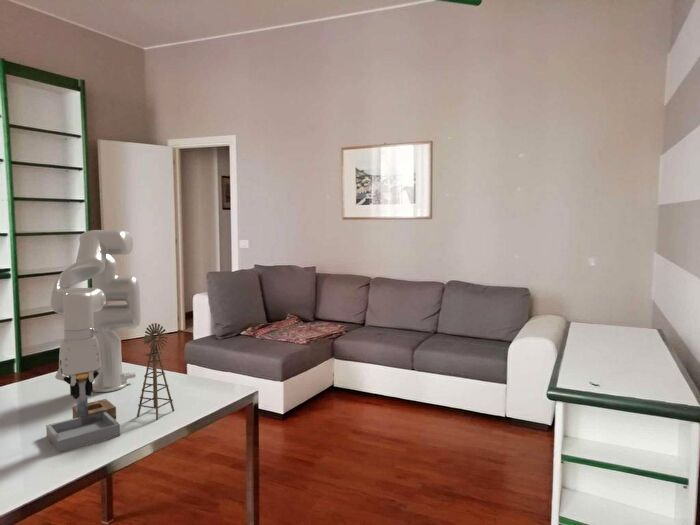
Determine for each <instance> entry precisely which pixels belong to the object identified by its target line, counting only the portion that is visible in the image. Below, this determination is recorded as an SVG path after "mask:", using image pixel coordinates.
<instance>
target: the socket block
mask: <svg viewBox="0 0 700 525" xmlns="http://www.w3.org/2000/svg"><path fill="white" fill-rule="evenodd" d="M71 410H72V419H74V418H78V417H81V418H82V419H83V418H84V420H85V419H86V418H87V416H91V417H90V418H88V419H89V422H90V423H93V422H95V421H94V420H96V419H97V418H98V417H97V418H96V419H94V420H93V418H92V416H93V415H95V414H98V416H99V413H103V412H107V413H108V414H109V415H110V416H111V417H112V418H113V419H114V420H115V419H116V420H117V407H116V405H114V404H113V403H112V402H111V401H109V400H108V399H107V398H104V399H99V400H94V401H90V402H88V414H87V415H86V416H77V405H72V407H71ZM85 417H86V418H85ZM94 418H95V417H94ZM82 419H81V420H82ZM90 419H91V420H90ZM102 419H103V418H102ZM86 420H87V419H86ZM96 421H98V420H96ZM100 421H102V420H100ZM85 422H87V424H90V423H89V422H88V421H85ZM85 422H84V423H85ZM81 423H82V421H81ZM84 423H83V424H84ZM87 424H86V423H85V425H87ZM81 425H82V424H81Z"/></svg>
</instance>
